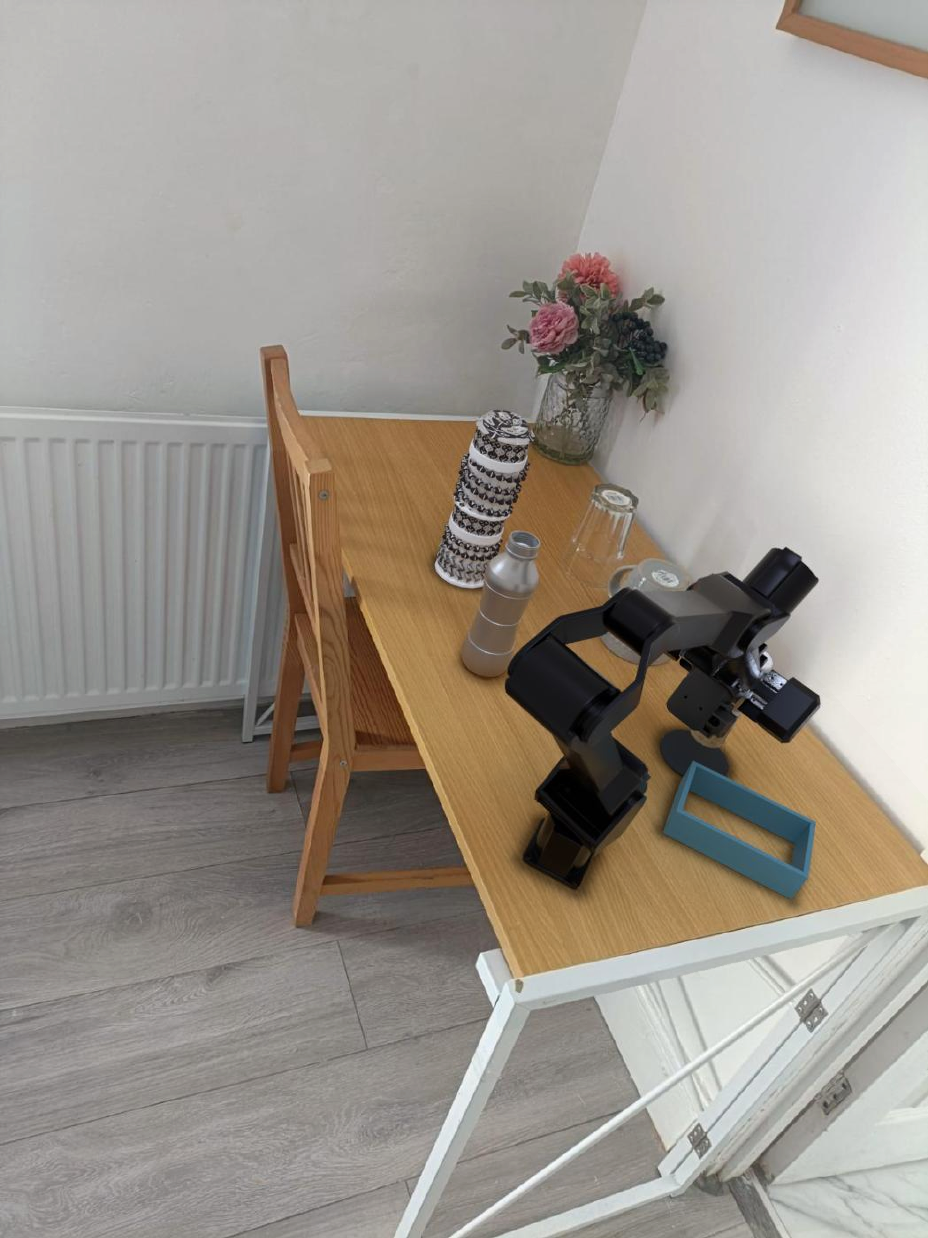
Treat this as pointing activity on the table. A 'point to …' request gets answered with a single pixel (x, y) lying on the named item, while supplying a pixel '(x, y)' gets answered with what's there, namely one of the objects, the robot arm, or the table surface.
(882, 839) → the table surface
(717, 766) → the coaster
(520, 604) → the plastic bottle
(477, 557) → the white patterned cylinder
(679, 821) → the blue open rectangular frame
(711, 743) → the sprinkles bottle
